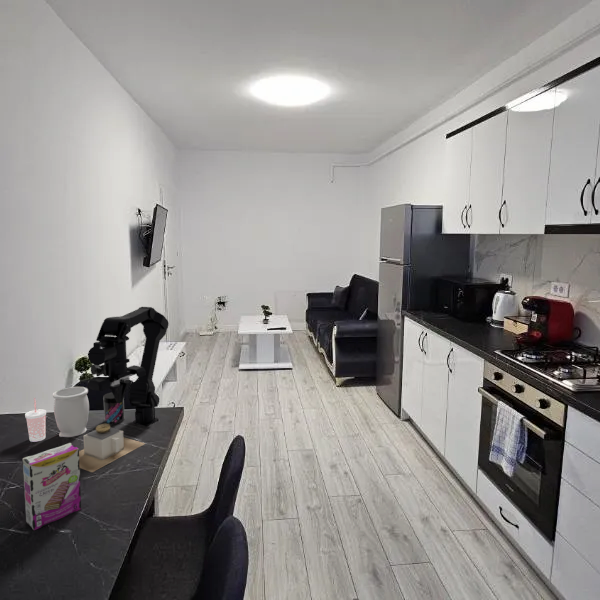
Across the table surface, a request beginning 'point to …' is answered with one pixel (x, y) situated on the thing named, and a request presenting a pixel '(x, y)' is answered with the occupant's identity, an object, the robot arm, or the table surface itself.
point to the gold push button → (102, 428)
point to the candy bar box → (51, 485)
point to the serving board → (95, 464)
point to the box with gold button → (103, 443)
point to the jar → (71, 410)
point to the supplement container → (113, 409)
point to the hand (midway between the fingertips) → (119, 402)
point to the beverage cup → (36, 424)
